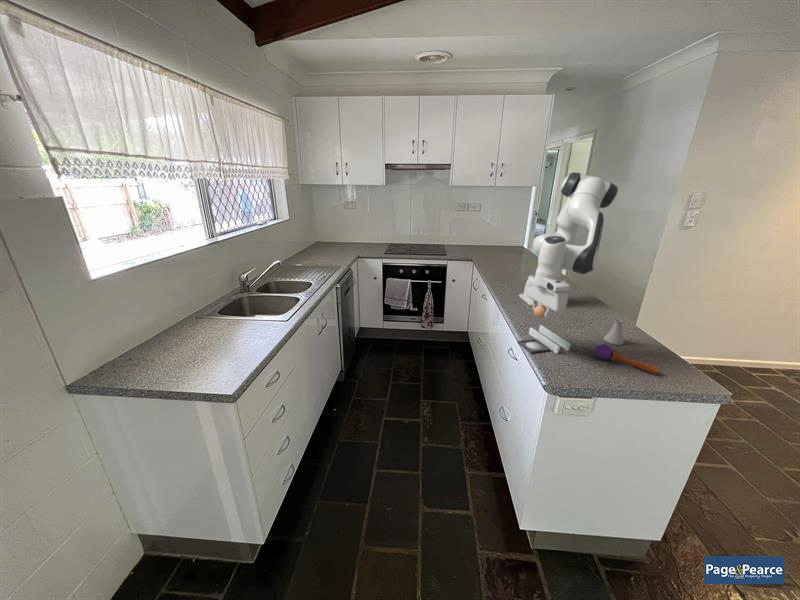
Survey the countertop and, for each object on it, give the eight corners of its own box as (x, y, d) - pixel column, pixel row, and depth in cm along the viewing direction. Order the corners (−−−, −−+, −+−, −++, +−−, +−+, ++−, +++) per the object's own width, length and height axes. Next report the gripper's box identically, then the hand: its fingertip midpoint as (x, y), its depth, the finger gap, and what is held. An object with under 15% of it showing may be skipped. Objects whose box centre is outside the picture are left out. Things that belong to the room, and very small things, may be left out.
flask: (613, 346, 135) (619, 325, 131) (599, 338, 142) (605, 318, 138) (627, 344, 137) (633, 323, 133) (612, 337, 143) (618, 316, 140)
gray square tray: (517, 342, 136) (517, 340, 136) (535, 340, 139) (536, 338, 138) (531, 353, 128) (531, 351, 128) (550, 351, 130) (550, 348, 130)
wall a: (538, 331, 147) (539, 325, 146) (540, 331, 147) (541, 325, 146) (567, 350, 131) (569, 344, 130) (569, 350, 131) (570, 344, 130)
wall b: (528, 333, 145) (529, 327, 144) (530, 333, 145) (531, 327, 144) (556, 353, 128) (558, 347, 127) (558, 353, 129) (559, 346, 128)
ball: (530, 315, 130) (532, 303, 128) (541, 314, 131) (543, 302, 129) (538, 320, 125) (540, 308, 124) (549, 319, 127) (551, 307, 125)
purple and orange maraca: (659, 369, 112) (595, 346, 123) (652, 381, 116) (591, 358, 127) (661, 360, 116) (599, 338, 127) (654, 372, 119) (595, 350, 130)
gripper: (523, 273, 131) (518, 304, 136) (558, 289, 113) (551, 324, 118) (536, 272, 133) (530, 303, 138) (573, 287, 115) (565, 323, 120)
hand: (540, 313), depth 128 cm, fingers closed on ball, 5 cm apart
